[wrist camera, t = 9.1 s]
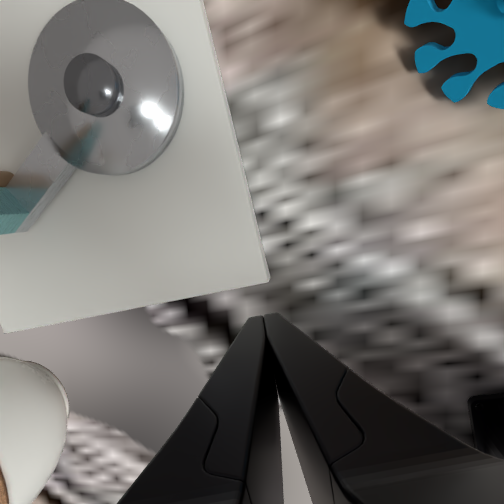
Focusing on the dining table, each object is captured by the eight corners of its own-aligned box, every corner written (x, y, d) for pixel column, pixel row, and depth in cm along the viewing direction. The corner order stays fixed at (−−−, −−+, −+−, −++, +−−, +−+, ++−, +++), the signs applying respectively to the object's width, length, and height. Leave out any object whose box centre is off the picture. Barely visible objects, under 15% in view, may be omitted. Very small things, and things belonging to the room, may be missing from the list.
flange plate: (102, -34, 19) (-83, -238, 10) (217, 89, 19) (134, -7, 10) (-32, 169, 23) (-246, 151, 14) (63, 269, 23) (-92, 315, 14)
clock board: (270, 277, 21) (251, 316, 15) (17, 327, 26) (-89, 375, 19) (185, -71, 19) (112, -231, 12) (-81, 55, 23) (-246, -5, 16)
